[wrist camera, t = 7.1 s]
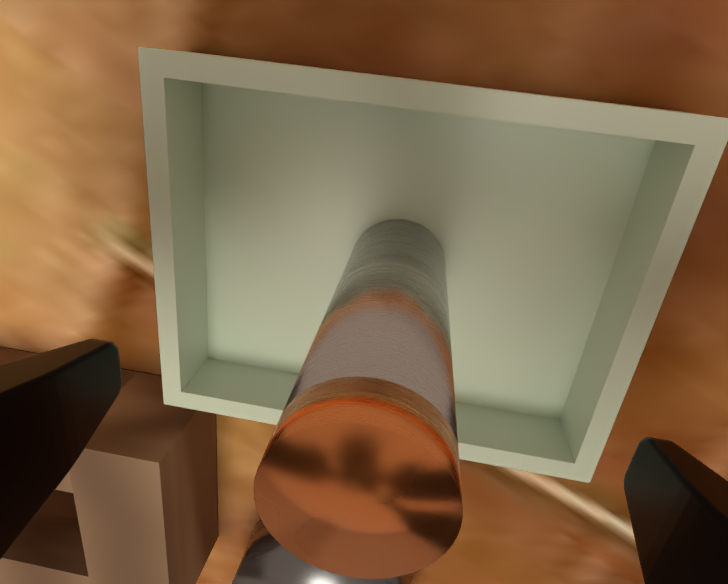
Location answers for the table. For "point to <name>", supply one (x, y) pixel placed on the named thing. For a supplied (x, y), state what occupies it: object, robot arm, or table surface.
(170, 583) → the block
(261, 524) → the dark grey knobbed lid
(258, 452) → the table surface
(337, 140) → the tray
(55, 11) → the table surface
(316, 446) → the pin
